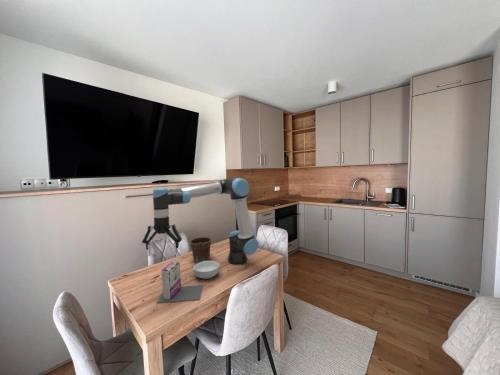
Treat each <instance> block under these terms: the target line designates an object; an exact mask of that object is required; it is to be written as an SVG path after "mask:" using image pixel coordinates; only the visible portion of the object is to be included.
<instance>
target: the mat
mask: <svg viewBox="0 0 500 375" xmlns="http://www.w3.org/2000/svg"><path fill="white" fill-rule="evenodd" d="M203 286H204V285H203V284H197V285H184V286H183V285H181V289H180V290H179V291H178V292H177V293H176V295H175V296H174V297H173V298H172V299H171V300H170V299H163V291H162V292H161V294H160V296H159V298H158V299H157V301H156V304H168V303H179V302H180V303H182V302H193V301H194V302H195V301H196V300H197V301H200V300H201V296H202V291H203Z"/></svg>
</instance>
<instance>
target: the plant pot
mask: <svg viewBox="0 0 500 375" xmlns="http://www.w3.org/2000/svg"><path fill="white" fill-rule="evenodd" d="M211 242H212V238H211V237H207V236H206V237H205V236H203V237H202V236H201V237H195V238H193V239H191V240H190V241H189V243H190V247H191V250H192V258H193V263H195V264H197V263H200V262H203V261H211V259H210V257H211V256H210V255H211Z"/></svg>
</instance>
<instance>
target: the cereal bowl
mask: <svg viewBox="0 0 500 375" xmlns="http://www.w3.org/2000/svg"><path fill="white" fill-rule="evenodd" d="M219 271H220V263H219V262H218V261H216V260H209V261H203V262H200V263H195V264H194V265H193V274H194V276H196V277H197V278H200V279H203V280H209V279H211V278H213V277H215V276H217V274H218V273H219Z"/></svg>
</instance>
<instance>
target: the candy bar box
mask: <svg viewBox="0 0 500 375" xmlns="http://www.w3.org/2000/svg"><path fill="white" fill-rule="evenodd" d="M180 263H181V262H180V261H174V260H171V262H170V263H168V265H166V266H165V267H164V268H162V269H161V281H162V282H161V283H162V292H163V299H170V300H171V299H172V298H173V297H174V296H175V295H176V293H177V292H178V291H179V290H180V289H181V286H182V281H181V265H180Z"/></svg>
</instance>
